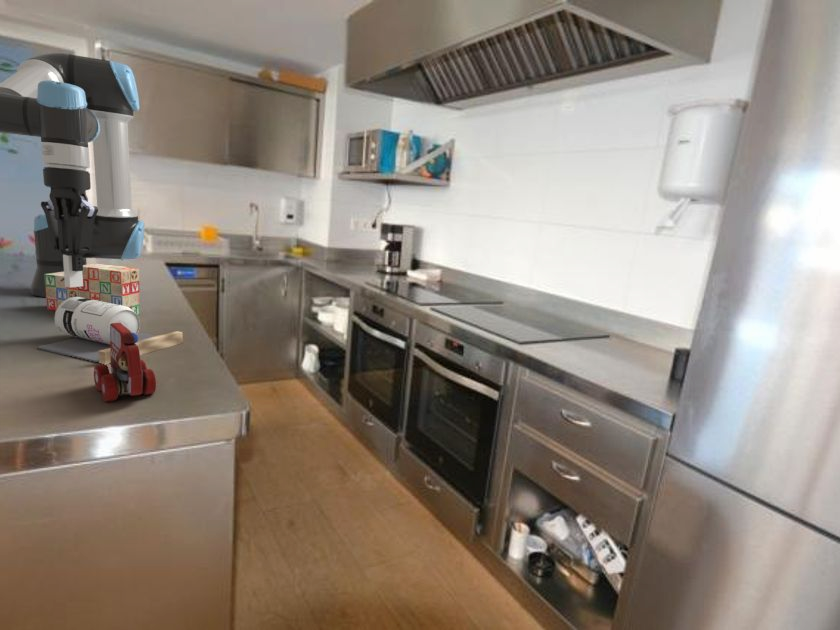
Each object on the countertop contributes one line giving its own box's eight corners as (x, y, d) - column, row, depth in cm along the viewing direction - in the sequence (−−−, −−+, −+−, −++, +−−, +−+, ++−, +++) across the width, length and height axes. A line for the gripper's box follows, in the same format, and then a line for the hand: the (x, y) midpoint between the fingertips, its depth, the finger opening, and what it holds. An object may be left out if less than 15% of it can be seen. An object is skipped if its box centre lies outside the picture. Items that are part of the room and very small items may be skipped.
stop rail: (177, 341, 105) (176, 331, 105) (182, 343, 105) (182, 332, 104) (99, 363, 89) (98, 350, 88) (105, 364, 88) (104, 352, 88)
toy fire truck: (109, 410, 71) (106, 341, 69) (91, 383, 80) (88, 322, 77) (161, 400, 76) (159, 336, 74) (139, 376, 84) (137, 318, 82)
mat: (121, 330, 110) (121, 328, 110) (176, 341, 105) (176, 339, 105) (37, 348, 94) (37, 346, 94) (98, 363, 89) (98, 361, 89)
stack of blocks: (46, 310, 122) (42, 261, 119) (67, 306, 128) (64, 259, 126) (123, 320, 119) (121, 270, 117) (141, 315, 125) (139, 268, 123)
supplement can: (97, 305, 107) (148, 315, 102) (80, 340, 105) (131, 352, 100) (64, 289, 100) (117, 300, 95) (44, 326, 97) (98, 339, 92)
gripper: (23, 163, 94) (32, 284, 99) (71, 167, 90) (79, 292, 95) (62, 168, 101) (69, 280, 106) (109, 171, 97) (114, 288, 102)
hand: (74, 286), depth 100 cm, fingers closed
